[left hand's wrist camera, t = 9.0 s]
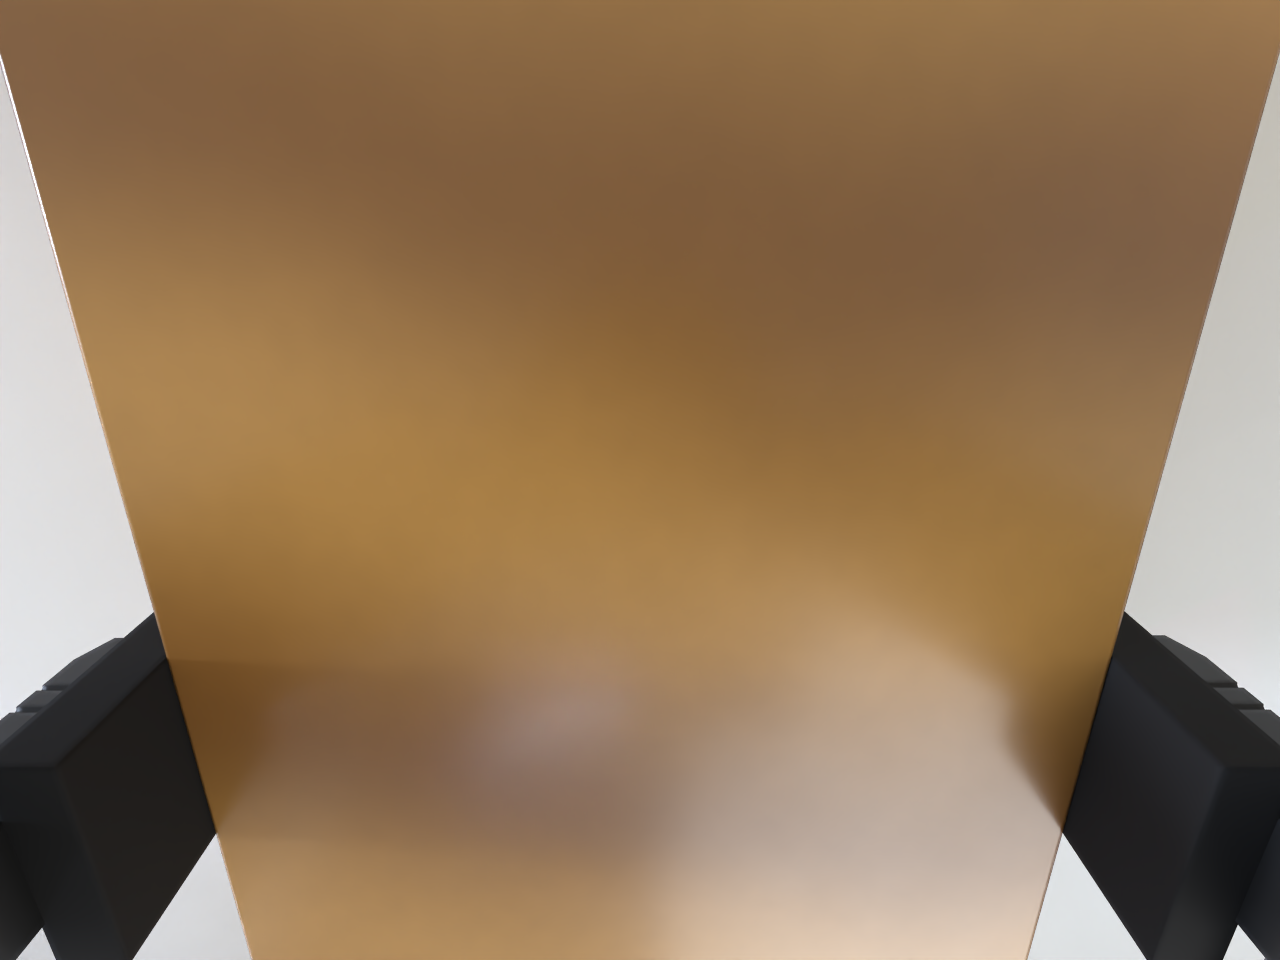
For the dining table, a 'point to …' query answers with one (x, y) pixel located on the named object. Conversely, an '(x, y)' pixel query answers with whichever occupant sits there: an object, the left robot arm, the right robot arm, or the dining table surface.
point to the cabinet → (638, 439)
